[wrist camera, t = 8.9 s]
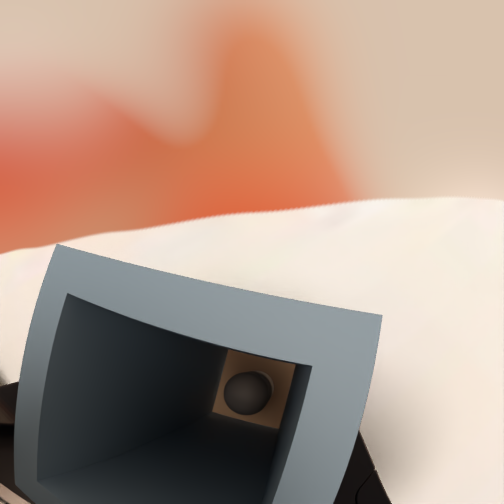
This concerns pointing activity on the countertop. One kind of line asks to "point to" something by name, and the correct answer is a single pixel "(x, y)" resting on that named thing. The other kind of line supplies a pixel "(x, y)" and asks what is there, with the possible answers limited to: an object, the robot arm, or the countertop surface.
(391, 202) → the countertop surface
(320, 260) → the countertop surface
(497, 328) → the countertop surface
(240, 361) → the pin base
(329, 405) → the sleeve
